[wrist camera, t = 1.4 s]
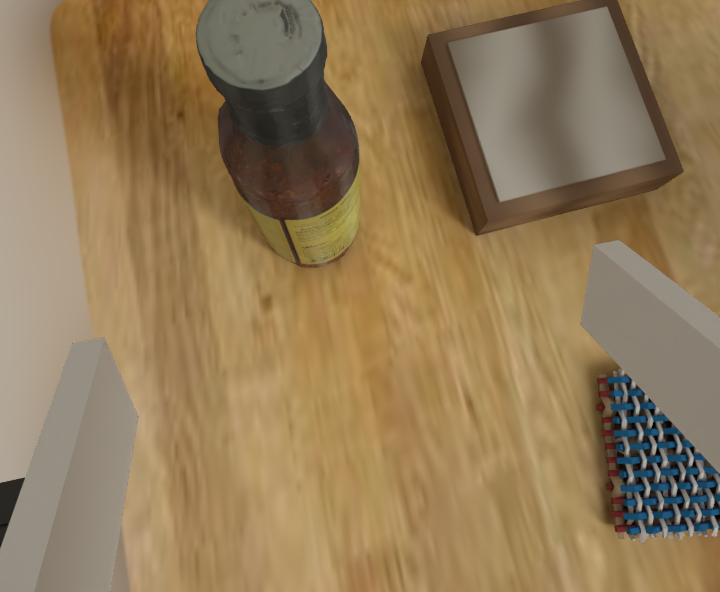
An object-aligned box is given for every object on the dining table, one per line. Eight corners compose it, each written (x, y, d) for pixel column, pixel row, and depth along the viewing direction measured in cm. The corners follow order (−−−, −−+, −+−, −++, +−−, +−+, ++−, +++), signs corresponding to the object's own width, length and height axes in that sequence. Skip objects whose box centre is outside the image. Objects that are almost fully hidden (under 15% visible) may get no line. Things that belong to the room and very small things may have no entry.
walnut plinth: (594, 22, 40) (615, -10, 37) (657, 189, 38) (686, 169, 35) (421, 62, 39) (428, 32, 36) (476, 235, 37) (489, 220, 34)
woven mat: (586, 368, 36) (601, 366, 34) (745, 361, 37) (768, 359, 35) (605, 539, 35) (622, 547, 33) (772, 530, 35) (798, 537, 33)
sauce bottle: (368, 193, 37) (401, -31, 18) (345, 282, 36) (353, 147, 17) (273, 169, 38) (201, -79, 18) (247, 257, 36) (141, 94, 17)
